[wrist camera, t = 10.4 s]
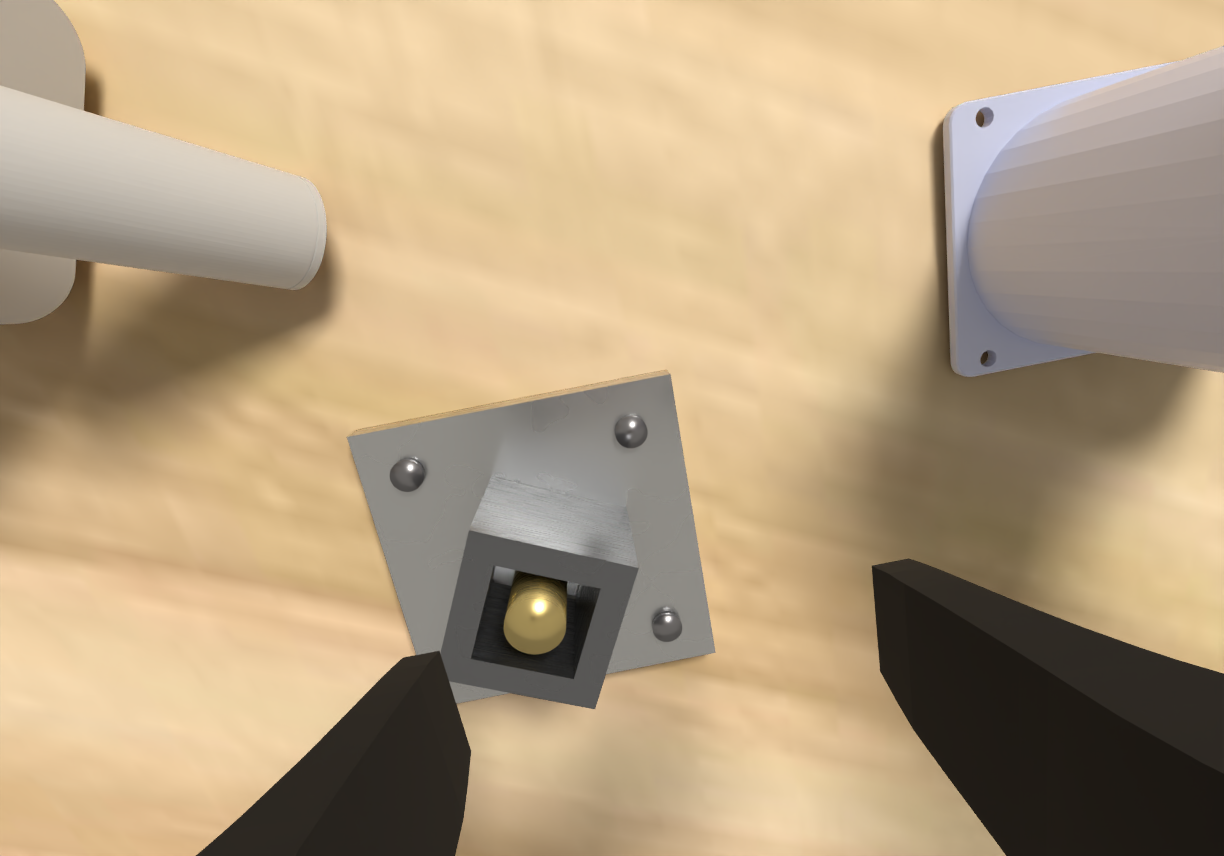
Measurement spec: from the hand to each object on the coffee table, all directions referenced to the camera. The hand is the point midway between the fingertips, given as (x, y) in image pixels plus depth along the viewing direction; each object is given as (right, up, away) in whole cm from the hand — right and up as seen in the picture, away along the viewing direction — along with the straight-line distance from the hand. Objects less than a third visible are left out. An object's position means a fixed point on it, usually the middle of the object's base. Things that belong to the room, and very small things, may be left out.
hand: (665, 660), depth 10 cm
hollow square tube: (-3, 0, +10) cm, 10 cm away
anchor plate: (-3, 0, +10) cm, 11 cm away
